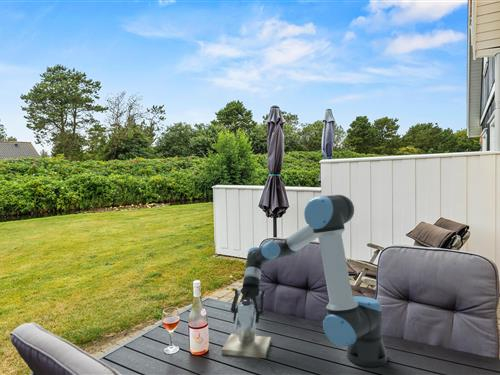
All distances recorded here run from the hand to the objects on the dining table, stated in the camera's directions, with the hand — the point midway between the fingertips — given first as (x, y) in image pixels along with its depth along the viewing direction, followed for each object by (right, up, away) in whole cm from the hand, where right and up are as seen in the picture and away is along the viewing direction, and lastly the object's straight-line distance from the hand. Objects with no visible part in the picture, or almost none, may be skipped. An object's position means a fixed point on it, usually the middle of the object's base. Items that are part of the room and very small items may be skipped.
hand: (244, 330), depth 141 cm
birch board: (+1, -9, +4) cm, 10 cm away
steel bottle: (+1, -5, +4) cm, 7 cm away
